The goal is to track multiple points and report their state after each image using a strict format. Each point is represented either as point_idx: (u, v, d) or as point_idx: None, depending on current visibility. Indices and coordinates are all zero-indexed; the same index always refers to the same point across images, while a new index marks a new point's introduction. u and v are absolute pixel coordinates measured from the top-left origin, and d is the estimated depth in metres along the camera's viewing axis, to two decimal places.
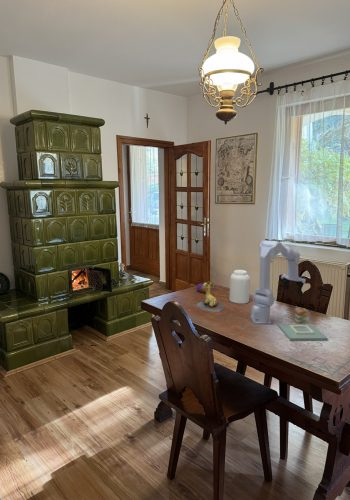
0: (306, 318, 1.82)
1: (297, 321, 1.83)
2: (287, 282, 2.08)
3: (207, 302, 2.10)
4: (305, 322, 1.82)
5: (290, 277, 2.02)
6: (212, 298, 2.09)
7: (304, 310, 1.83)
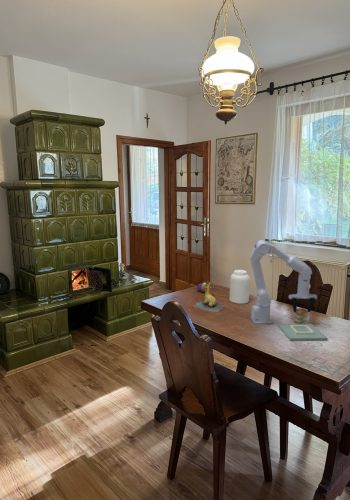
0: (306, 318, 1.82)
1: (297, 321, 1.83)
2: (309, 302, 1.83)
3: (206, 302, 2.10)
4: (305, 322, 1.82)
5: None
6: (211, 298, 2.09)
7: (304, 310, 1.83)
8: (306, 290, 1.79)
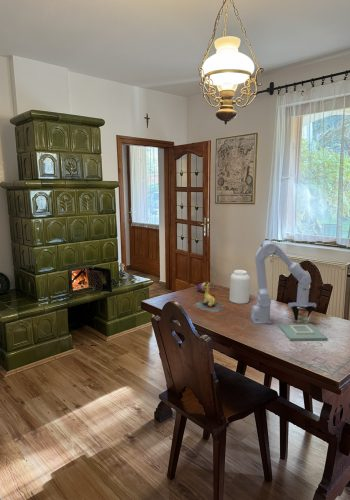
0: (306, 318, 1.82)
1: (297, 321, 1.83)
2: None
3: (206, 302, 2.10)
4: (305, 322, 1.82)
5: None
6: (210, 298, 2.09)
7: (304, 310, 1.83)
8: (305, 299, 1.80)
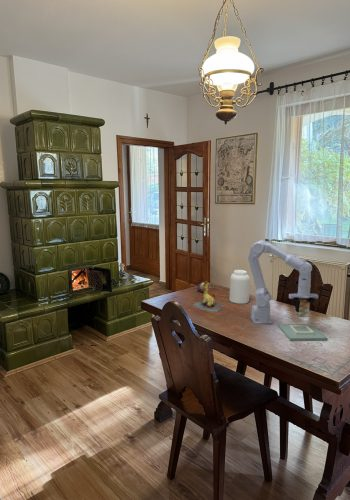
0: (307, 310, 1.74)
1: (298, 313, 1.75)
2: (308, 301, 1.76)
3: (205, 302, 2.10)
4: (306, 314, 1.75)
5: None
6: (210, 298, 2.09)
7: (305, 301, 1.75)
8: (307, 289, 1.72)
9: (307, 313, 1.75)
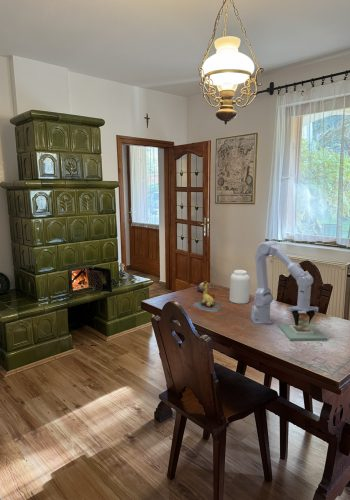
0: (307, 323, 1.69)
1: (298, 326, 1.70)
2: (307, 314, 1.71)
3: (204, 302, 2.10)
4: (306, 328, 1.69)
5: None
6: (209, 298, 2.09)
7: (305, 315, 1.70)
8: (307, 302, 1.67)
9: (307, 326, 1.69)
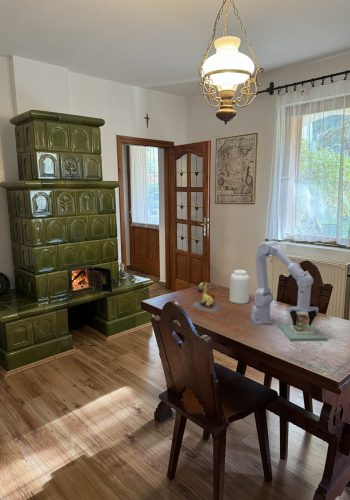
0: (307, 325, 1.69)
1: (298, 328, 1.70)
2: (309, 315, 1.71)
3: (204, 302, 2.10)
4: (306, 329, 1.69)
5: None
6: (208, 298, 2.09)
7: (305, 316, 1.70)
8: (307, 302, 1.67)
9: (307, 328, 1.69)
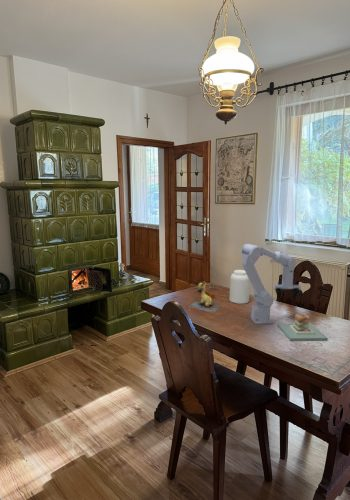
0: (307, 325, 1.69)
1: (298, 328, 1.70)
2: (293, 292, 1.90)
3: (203, 302, 2.10)
4: (306, 329, 1.69)
5: None
6: (207, 298, 2.09)
7: (305, 316, 1.70)
8: (290, 281, 1.86)
9: (307, 328, 1.69)
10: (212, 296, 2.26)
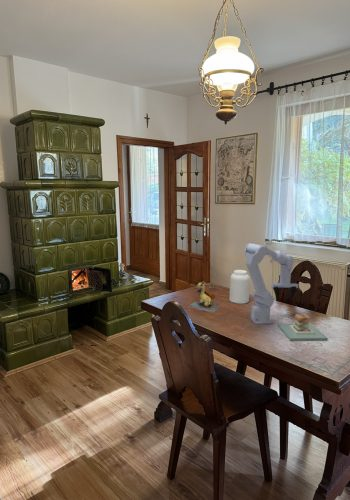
0: (307, 325, 1.69)
1: (298, 328, 1.70)
2: (290, 290, 1.94)
3: (202, 302, 2.10)
4: (306, 329, 1.69)
5: None
6: (207, 298, 2.09)
7: (305, 316, 1.70)
8: (287, 279, 1.89)
9: (307, 328, 1.69)
10: (212, 296, 2.25)
